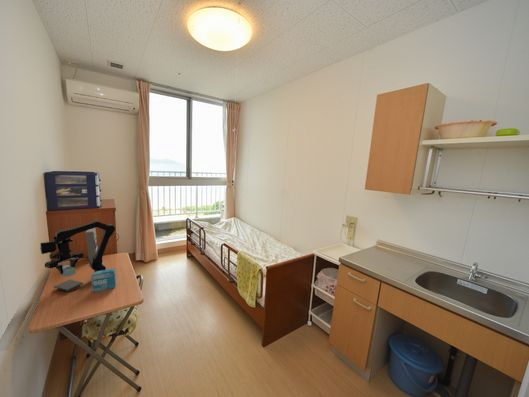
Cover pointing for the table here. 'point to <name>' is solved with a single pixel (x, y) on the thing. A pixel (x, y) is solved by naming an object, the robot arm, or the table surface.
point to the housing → (68, 271)
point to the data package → (103, 280)
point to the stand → (68, 285)
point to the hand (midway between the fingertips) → (67, 272)
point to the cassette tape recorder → (91, 242)
